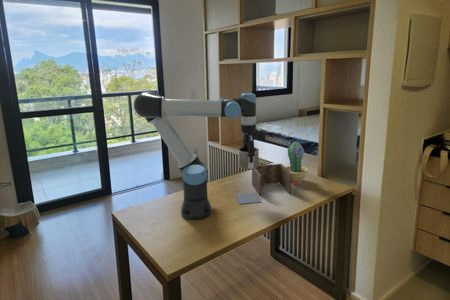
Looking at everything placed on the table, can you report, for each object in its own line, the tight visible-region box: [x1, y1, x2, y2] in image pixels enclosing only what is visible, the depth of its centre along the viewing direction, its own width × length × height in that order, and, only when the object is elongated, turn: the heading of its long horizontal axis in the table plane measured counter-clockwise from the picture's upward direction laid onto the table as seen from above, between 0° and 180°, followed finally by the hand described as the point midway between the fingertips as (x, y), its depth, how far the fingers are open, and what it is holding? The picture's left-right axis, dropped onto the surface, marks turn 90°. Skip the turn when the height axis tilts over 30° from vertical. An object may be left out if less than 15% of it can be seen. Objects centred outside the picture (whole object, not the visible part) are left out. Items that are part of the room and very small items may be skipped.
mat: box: [235, 192, 262, 205], centre depth 172 cm, size 12×12×1 cm
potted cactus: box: [284, 141, 309, 185], centre depth 193 cm, size 15×15×25 cm
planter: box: [237, 146, 260, 170], centre depth 166 cm, size 11×11×10 cm
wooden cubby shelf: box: [251, 163, 292, 197], centre depth 183 cm, size 18×18×12 cm
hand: (248, 164), depth 167 cm, fingers closed on planter, 11 cm apart
